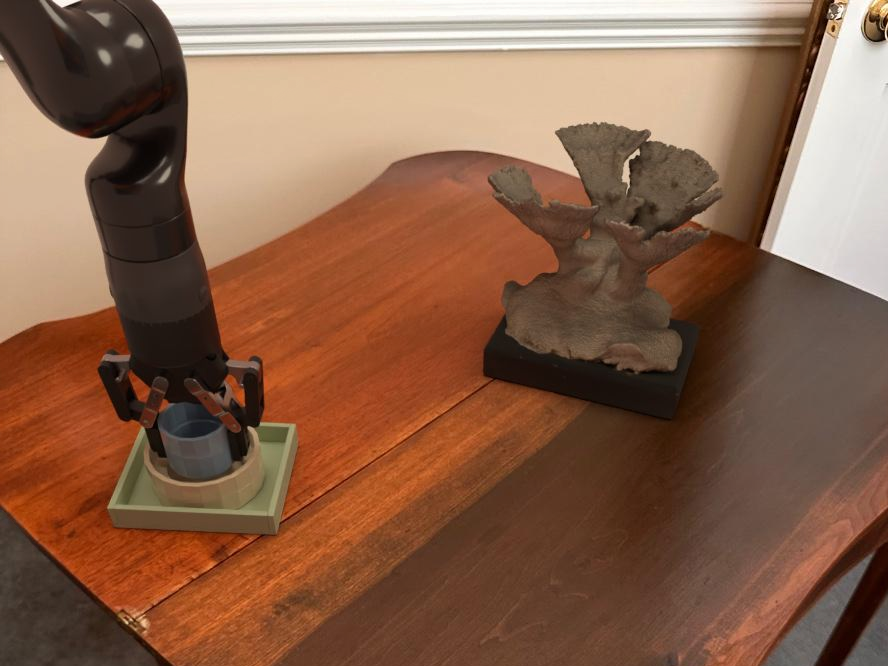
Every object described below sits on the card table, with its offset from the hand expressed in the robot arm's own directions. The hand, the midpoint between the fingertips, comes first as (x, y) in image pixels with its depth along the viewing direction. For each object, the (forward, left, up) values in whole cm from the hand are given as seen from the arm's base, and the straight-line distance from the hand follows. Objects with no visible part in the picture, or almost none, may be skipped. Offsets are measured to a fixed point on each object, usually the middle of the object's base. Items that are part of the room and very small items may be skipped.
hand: (202, 453), depth 82 cm
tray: (0, 0, -4) cm, 4 cm away
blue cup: (0, 0, -1) cm, 1 cm away
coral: (+38, +26, -4) cm, 46 cm away
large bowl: (0, 0, -4) cm, 4 cm away
